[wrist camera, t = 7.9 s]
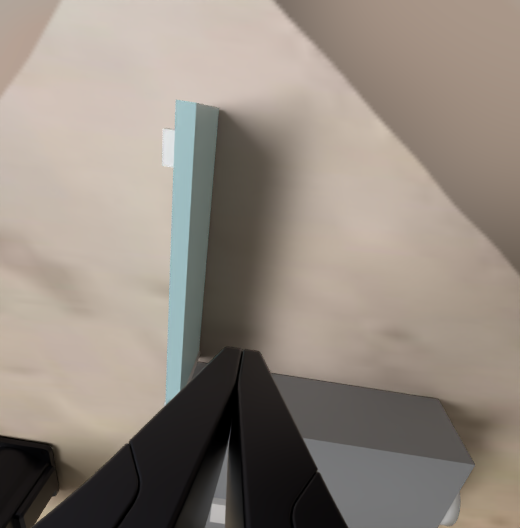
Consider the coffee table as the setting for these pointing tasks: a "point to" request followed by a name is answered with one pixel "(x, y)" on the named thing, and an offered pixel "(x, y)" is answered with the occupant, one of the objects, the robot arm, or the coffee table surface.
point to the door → (188, 233)
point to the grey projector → (373, 454)
